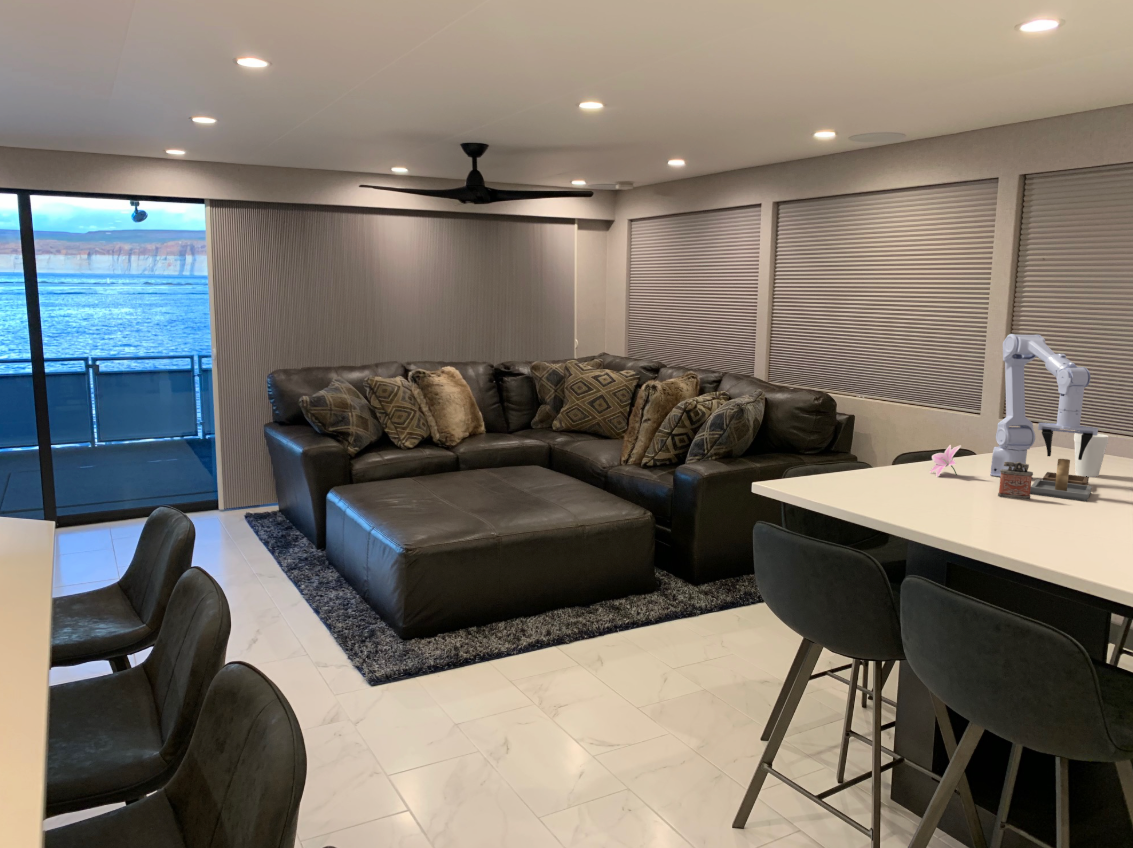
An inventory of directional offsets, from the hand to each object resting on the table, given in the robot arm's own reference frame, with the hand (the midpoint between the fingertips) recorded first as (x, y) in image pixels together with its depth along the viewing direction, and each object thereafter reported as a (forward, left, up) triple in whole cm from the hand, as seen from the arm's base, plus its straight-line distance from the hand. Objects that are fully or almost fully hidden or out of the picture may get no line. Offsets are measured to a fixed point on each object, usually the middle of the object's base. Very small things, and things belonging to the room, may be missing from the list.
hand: (1064, 457), depth 244 cm
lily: (-32, +6, -11) cm, 35 cm away
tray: (0, 0, -10) cm, 10 cm away
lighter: (-10, -15, -11) cm, 21 cm away
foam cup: (+4, +38, -11) cm, 40 cm away
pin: (0, 0, -10) cm, 10 cm away
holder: (0, +14, -10) cm, 17 cm away
